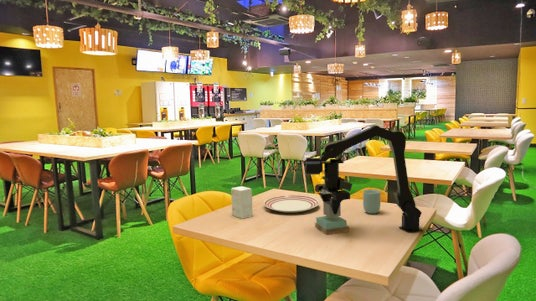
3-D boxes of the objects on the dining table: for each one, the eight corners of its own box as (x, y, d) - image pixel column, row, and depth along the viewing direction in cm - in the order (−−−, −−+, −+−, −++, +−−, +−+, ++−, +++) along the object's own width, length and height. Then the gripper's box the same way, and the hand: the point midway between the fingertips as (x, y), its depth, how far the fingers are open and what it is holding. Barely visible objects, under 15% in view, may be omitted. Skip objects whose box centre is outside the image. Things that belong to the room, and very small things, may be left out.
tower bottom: (349, 233, 151) (349, 226, 151) (326, 236, 148) (326, 230, 147) (336, 225, 160) (336, 220, 160) (315, 228, 157) (315, 223, 157)
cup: (382, 214, 171) (382, 193, 170) (365, 215, 171) (365, 193, 170) (377, 210, 179) (378, 189, 178) (361, 210, 179) (361, 189, 178)
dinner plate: (317, 217, 172) (317, 209, 171) (258, 215, 177) (257, 208, 177) (321, 201, 198) (321, 195, 198) (269, 200, 204) (269, 194, 203)
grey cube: (340, 215, 151) (340, 203, 151) (329, 217, 150) (329, 205, 149) (334, 212, 156) (334, 200, 156) (323, 214, 154) (323, 202, 154)
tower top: (346, 226, 151) (346, 220, 150) (326, 229, 148) (325, 223, 148) (336, 220, 159) (335, 214, 159) (316, 223, 156) (316, 217, 156)
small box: (253, 216, 175) (252, 188, 174) (241, 219, 171) (240, 190, 170) (242, 212, 181) (241, 185, 180) (231, 215, 177) (230, 187, 176)
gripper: (362, 176, 145) (362, 216, 147) (337, 169, 162) (337, 204, 164) (336, 179, 141) (337, 219, 143) (314, 171, 159) (314, 207, 161)
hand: (331, 212), depth 153 cm, fingers closed on grey cube, 5 cm apart
